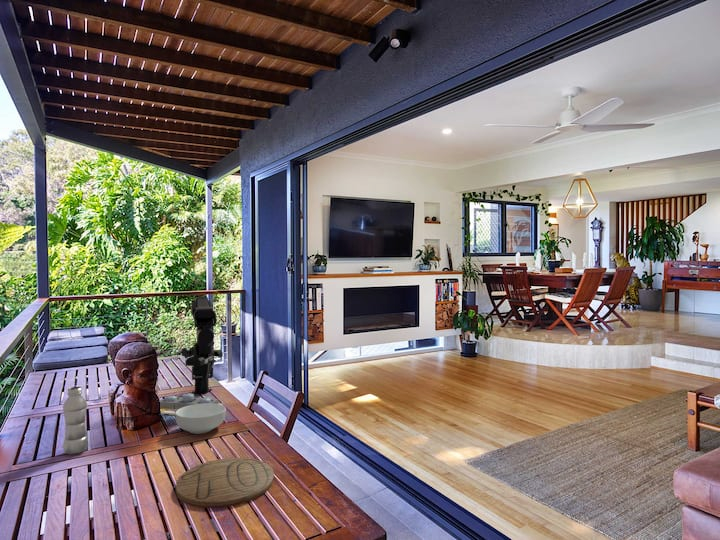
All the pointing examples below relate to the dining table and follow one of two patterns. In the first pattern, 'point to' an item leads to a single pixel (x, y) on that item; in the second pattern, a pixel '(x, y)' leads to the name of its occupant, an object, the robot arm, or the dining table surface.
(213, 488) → the trivet
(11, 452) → the dining table surface
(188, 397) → the button
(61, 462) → the dining table surface
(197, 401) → the board
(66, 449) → the plastic bottle
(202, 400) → the button
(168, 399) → the button
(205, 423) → the cereal bowl
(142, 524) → the dining table surface
